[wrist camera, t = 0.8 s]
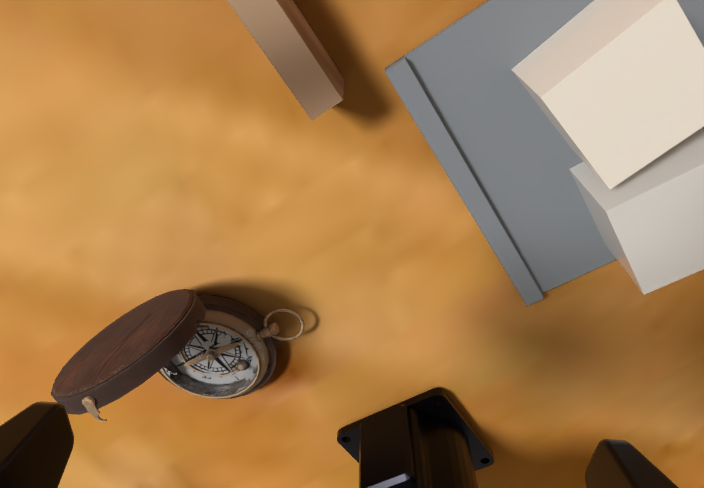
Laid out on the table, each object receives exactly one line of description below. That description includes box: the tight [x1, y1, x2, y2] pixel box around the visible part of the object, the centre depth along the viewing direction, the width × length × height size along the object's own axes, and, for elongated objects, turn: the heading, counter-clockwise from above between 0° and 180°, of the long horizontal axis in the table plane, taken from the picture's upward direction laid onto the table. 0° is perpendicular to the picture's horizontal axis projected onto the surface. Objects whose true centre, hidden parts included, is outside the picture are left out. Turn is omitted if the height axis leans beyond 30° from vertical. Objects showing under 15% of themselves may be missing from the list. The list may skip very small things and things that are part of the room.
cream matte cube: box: [570, 128, 704, 295], centre depth 19 cm, size 4×4×4 cm
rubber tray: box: [385, 0, 704, 306], centre depth 19 cm, size 12×12×1 cm
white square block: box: [511, 0, 704, 189], centre depth 16 cm, size 4×4×4 cm
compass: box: [51, 289, 304, 422], centre depth 22 cm, size 8×8×7 cm
